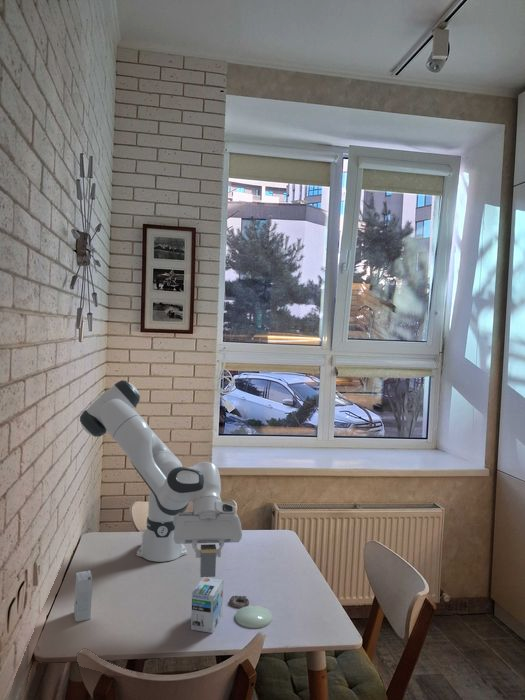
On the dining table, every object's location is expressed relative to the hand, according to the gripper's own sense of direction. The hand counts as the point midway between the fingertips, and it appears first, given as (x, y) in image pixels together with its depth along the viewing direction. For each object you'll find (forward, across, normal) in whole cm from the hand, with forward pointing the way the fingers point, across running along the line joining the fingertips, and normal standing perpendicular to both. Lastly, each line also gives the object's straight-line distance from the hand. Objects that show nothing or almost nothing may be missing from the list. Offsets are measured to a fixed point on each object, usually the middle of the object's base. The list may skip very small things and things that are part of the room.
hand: (208, 556), depth 154 cm
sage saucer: (+13, +14, +15) cm, 25 cm away
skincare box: (+9, -36, +19) cm, 42 cm away
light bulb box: (+14, 0, +15) cm, 20 cm away
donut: (+7, +10, +22) cm, 25 cm away
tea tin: (+3, 0, +4) cm, 5 cm away
